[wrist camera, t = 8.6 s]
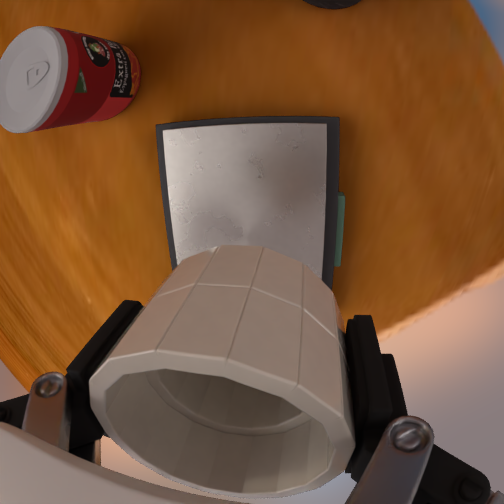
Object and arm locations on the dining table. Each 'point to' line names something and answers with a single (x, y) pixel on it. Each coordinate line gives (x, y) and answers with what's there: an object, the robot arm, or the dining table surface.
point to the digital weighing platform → (249, 188)
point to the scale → (333, 197)
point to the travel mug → (332, 3)
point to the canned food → (64, 79)
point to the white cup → (233, 377)
